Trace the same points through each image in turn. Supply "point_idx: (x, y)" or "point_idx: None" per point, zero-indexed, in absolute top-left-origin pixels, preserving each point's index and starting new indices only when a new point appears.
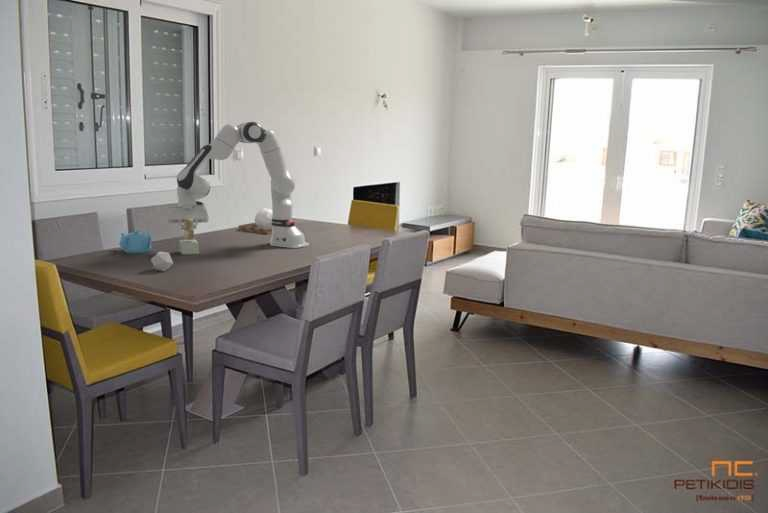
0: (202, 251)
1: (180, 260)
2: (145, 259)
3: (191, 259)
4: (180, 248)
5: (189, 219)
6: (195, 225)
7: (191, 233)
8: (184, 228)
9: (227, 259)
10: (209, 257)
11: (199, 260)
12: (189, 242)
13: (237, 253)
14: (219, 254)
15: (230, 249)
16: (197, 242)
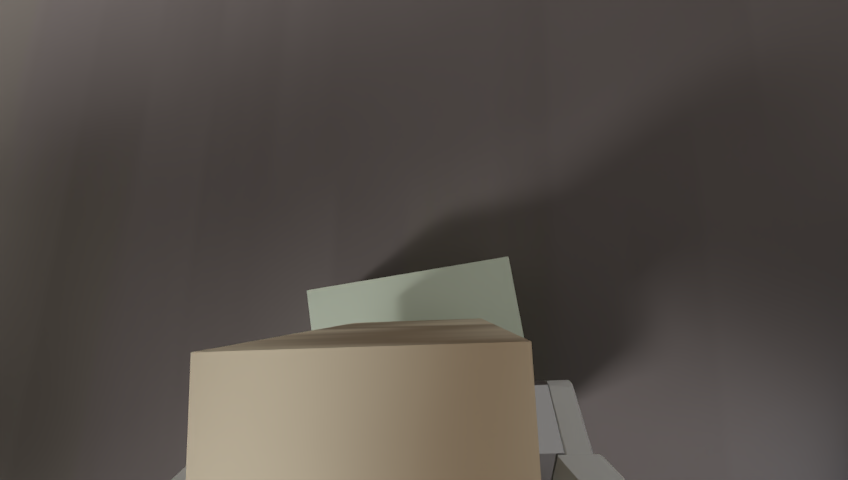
0: None
1: (510, 17)
2: (822, 85)
3: (419, 47)
4: None
5: (324, 460)
6: None
7: (368, 326)
8: (493, 325)
9: (136, 21)
10: (266, 112)
11: (356, 4)
12: (418, 294)
13: (8, 257)
14: (166, 231)
15: (25, 468)
16: (320, 289)
